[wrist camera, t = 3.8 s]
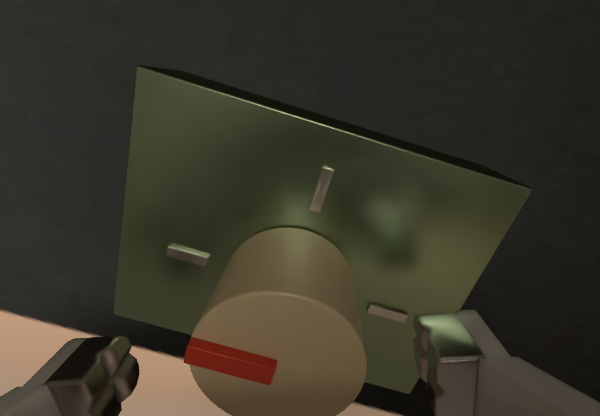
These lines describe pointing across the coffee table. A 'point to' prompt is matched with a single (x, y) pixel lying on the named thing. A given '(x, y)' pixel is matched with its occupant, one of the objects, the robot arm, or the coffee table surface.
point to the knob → (281, 330)
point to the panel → (298, 209)
